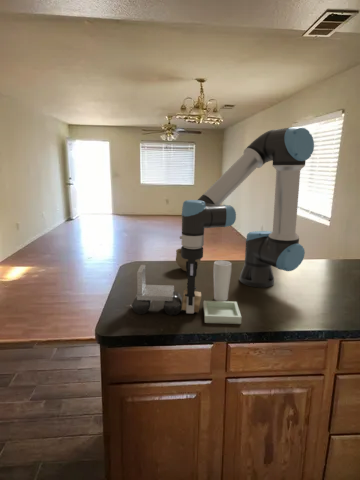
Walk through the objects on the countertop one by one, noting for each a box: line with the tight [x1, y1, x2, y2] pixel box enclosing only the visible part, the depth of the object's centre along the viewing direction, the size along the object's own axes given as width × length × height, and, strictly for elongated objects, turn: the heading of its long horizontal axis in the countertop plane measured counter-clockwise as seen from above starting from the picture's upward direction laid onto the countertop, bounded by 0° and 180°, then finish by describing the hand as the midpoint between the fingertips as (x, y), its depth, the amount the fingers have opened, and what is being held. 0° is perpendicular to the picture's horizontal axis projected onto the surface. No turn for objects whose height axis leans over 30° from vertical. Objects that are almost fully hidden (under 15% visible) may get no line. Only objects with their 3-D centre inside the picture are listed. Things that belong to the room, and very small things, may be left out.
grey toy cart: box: [131, 264, 183, 316], centre depth 111 cm, size 17×10×16 cm, turn 88°
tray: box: [202, 300, 243, 325], centre depth 110 cm, size 12×12×2 cm
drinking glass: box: [212, 259, 232, 301], centre depth 121 cm, size 7×7×15 cm
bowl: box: [175, 248, 202, 272], centre depth 155 cm, size 13×13×10 cm
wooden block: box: [181, 289, 202, 313], centre depth 111 cm, size 6×4×6 cm, turn 88°
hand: (190, 309), depth 112 cm, fingers closed on wooden block, 4 cm apart
